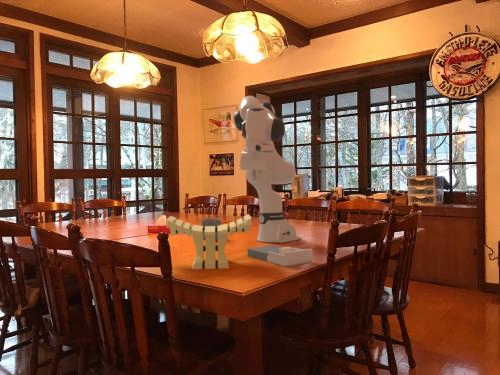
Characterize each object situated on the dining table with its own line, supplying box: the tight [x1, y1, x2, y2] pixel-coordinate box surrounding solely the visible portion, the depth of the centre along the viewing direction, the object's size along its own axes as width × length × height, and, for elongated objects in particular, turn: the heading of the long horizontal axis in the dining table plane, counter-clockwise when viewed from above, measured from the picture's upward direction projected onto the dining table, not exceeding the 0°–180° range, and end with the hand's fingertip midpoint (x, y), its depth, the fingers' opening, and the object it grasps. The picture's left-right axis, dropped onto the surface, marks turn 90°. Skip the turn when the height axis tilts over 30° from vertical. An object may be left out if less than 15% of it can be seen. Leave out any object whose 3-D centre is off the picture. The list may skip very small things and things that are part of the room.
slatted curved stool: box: [166, 214, 252, 270], centre depth 152 cm, size 30×16×18 cm, turn 95°
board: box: [247, 244, 293, 262], centre depth 164 cm, size 13×13×3 cm
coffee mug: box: [200, 217, 222, 241], centre depth 213 cm, size 13×10×10 cm
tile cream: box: [279, 246, 293, 255], centre depth 156 cm, size 4×4×2 cm
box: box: [266, 247, 313, 268], centre depth 154 cm, size 13×11×5 cm
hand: (256, 181), depth 168 cm, fingers closed
